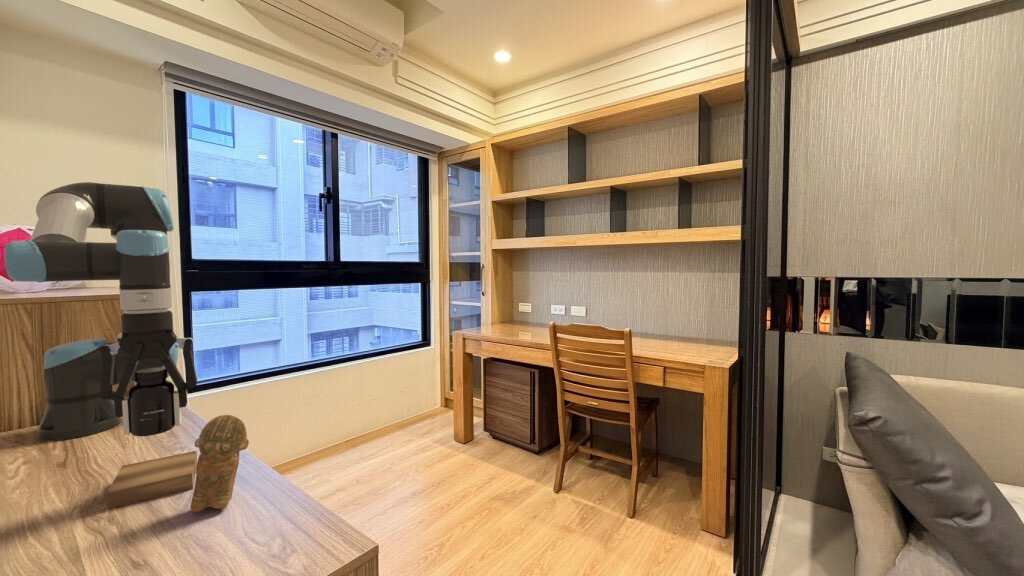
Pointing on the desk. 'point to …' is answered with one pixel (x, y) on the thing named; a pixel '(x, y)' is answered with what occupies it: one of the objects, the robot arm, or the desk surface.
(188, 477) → the pedestal
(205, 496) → the figurine
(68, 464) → the desk surface
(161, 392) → the supplement bottle
